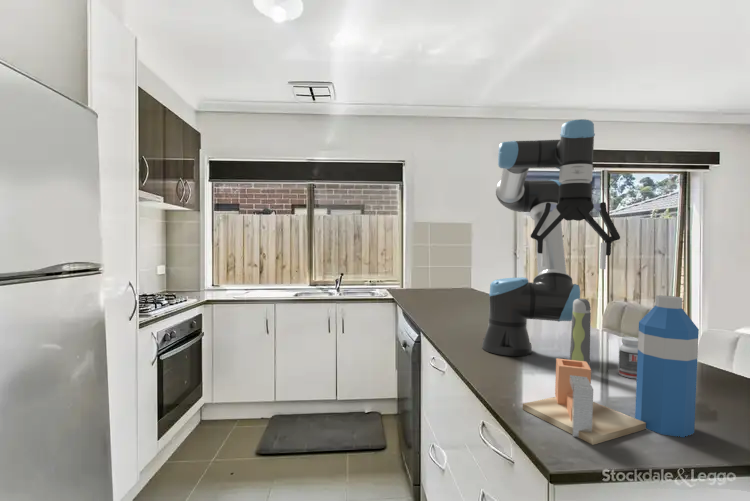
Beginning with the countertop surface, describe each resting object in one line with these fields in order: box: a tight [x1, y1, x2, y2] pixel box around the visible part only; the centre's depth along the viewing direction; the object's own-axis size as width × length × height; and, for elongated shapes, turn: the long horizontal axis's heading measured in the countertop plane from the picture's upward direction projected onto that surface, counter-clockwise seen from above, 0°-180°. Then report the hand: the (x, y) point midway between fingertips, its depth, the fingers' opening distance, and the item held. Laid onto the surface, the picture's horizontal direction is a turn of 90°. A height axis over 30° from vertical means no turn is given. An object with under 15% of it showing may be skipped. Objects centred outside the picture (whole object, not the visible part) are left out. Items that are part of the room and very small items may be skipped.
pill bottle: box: [617, 336, 638, 380], centre depth 108 cm, size 6×6×10 cm
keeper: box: [570, 375, 594, 438], centre depth 76 cm, size 7×3×9 cm, turn 161°
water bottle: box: [634, 294, 700, 438], centre depth 78 cm, size 9×9×25 cm
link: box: [554, 357, 592, 421], centre depth 83 cm, size 14×6×8 cm, turn 161°
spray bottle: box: [569, 298, 592, 368], centre depth 110 cm, size 5×5×20 cm
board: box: [522, 396, 647, 446], centre depth 81 cm, size 16×15×1 cm
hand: (572, 267), depth 103 cm, fingers open, 13 cm apart
